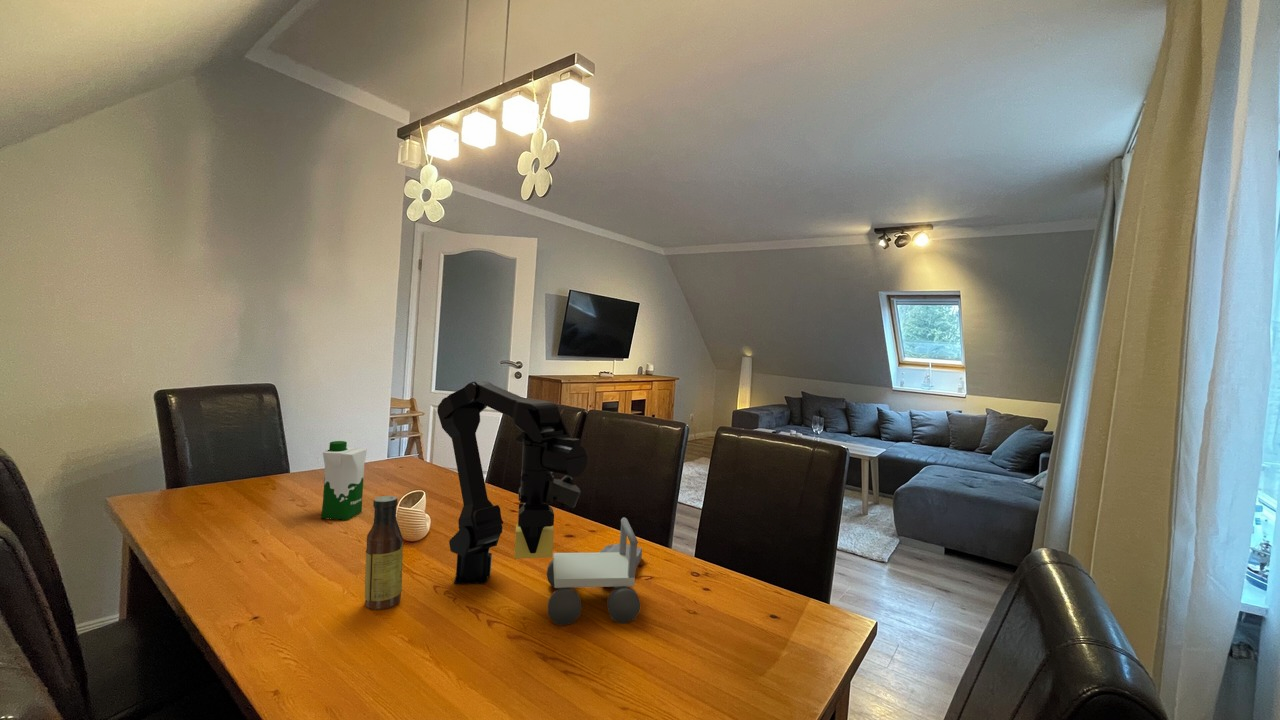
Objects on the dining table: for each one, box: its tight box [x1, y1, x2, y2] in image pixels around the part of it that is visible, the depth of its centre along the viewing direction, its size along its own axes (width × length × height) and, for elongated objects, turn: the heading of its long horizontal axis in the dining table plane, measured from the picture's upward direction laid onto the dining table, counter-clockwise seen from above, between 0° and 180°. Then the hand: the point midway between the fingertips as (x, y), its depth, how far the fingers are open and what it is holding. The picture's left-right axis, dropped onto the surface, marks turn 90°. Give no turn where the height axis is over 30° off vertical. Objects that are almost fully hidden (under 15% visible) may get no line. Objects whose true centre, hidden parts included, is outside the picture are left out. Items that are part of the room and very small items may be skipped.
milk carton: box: [320, 440, 368, 521], centre depth 140 cm, size 9×9×20 cm
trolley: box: [546, 517, 641, 626], centre depth 102 cm, size 17×16×15 cm
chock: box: [514, 523, 555, 559], centre depth 99 cm, size 7×4×5 cm, turn 103°
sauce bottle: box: [364, 495, 404, 611], centre depth 96 cm, size 6×6×20 cm
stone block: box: [599, 543, 643, 571], centre depth 120 cm, size 12×5×10 cm
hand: (532, 548), depth 99 cm, fingers closed on chock, 4 cm apart
